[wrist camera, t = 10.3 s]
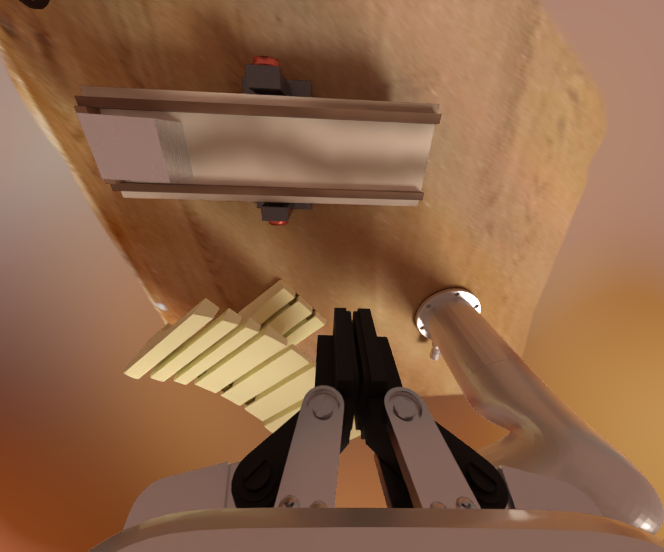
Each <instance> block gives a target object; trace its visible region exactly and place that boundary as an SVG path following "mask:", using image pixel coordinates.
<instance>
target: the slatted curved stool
mask: <svg viewBox="0 0 664 552" xmlns="http://www.w3.org/2000/svg"><path fill="white" fill-rule="evenodd" d="M295 294H296V292H295V291H294V290H293V289H292V288H291V287H290V286H289V285H288V284H287V283H285V282H284V281H283V280H282V279H280V280H279V281H278V282H277V283H275V284H274V285H273V286H271V287H270V288H269V289H268V290H266V291H265V292H264V293H263V294H261V295H260V296H259V297H257V298H256V299H255V300H254V301H252V302H251V303H250V304H249V305H247V306H246V307H245V308H243V309H242V310H241V311H240V312H238V313H235V312H234V311H233V310H231V309H230V308H229V309H227V310H226V311H225V312H224V313H222V314H221V315H220V316H218V317H217V318H216V319H215V320H213V321H212V322H211V323H209V324H208V325H207V326H205V327H204V328H203V329H201V328H202V327H203V326H204V325H206V324H207V323H208V322H209V321H211V320H212V319H213V318H214V316H215V315H216V313H217V312H218V310H219V307H218V306H216V305H215V304H214V303H212V302H211V301H209V300H208V299H207V298H204V299H203V300H202V301H201V302H200V303H199V304H197V305H196V306H195V307H194V308H193V309H192V310H190V311H189V312H188V313H187V314H186V315H184V316H183V317H182V318H181V319H180V320H178V321H177V322H176V323H175V324H173V325H170V324H169V323H168V324H166V325H165V326H164V327H163V328H162V329H161V330H160V331H159V332H157V333H156V334H155V335H154V336H153V337H152V338H151V339H150V340H149V341H148V342H147V343H146V345H145V346H144V347H143V348H142V349H141V350H140V351H139V353H138V354H137V355H136V356H135V357H134V358H133V359H132V361H131V362H130V363H129V364H128V366H127V367H126V368H125V369H124V371H123V373H124V374H126V375H128V376H130V377H132V378H135V379H139V378H140V377H141V376H143V375H144V374H145V373H146V372H148V371H149V370H150V369H151V368H152V367H154V366H155V365H156V364H157V365H156V366H155V368H154V369H153V371H152V373H151V375H150V377H151V378H152V379H155V380H159V381H163V382H164V381H165V380H167V379H168V378H169V377H170V376H172V375H173V374H175V373H176V374H175V377H174V381H175V382H178V383H181V384H184V385H186V384H188V383H189V382H190V381H192V380H193V379H194V378H195V385H197V386H200V387H202V388H205V389H207V390H209V391H212V392H214V393H217V392H218V391H220V390H221V396H223V397H224V398H227V399H228V400H230V401H232V402H234V403H235V404H237V405H239V406H240V405H241V404H243V403H244V409H245V410H247V411H248V412H250V413H251V414H253V415H254V416H256V417H257V418H258V419H260V420H262V421H263V423H264V427H265V428H267V429H268V430H269V431H271V432H272V433H274V432H275V431H276V430H277V429H278V428H280V427H281V426H282V425H283V424H284V423H285V422H287V421H288V420H289V419H290V418H291V417H292V416H293V415H295V414H296V413H297V412H298V411H299V410H300V409H301V405H302V402H303V399H304V397H305V395H306V394H307V392H308V391H309V390H311V389H312V388H314V387H315V373H316V362H315V361H313V362H311V363H310V357H309V356H308V355H306V354H305V353H304V352H302V351H301V350H300V349H299V348H297V347H296V346H295V345H296V344H298V343H299V342H300V341H302V340H303V339H305V338H306V337H307V336H309V335H310V334H312V333H313V332H315V331H316V330H318V329H319V328H321V327H322V326H324V325H325V323H326V322H328V321H327V320H326V319H325V318H324V317H323V316H322V315H320V314H319V313H318V312H317V311H316V310H315V311H314V312H313V311H312V308H313V307H312V306H311V305H309V304H308V303H307V302H306V301H305V300H304V299H303V298H302V297H301V296H300V295H299V296H297V297H296V296H295ZM287 303H288V304H287ZM286 304H287V305H286ZM283 306H284V307H283ZM279 309H280V310H279ZM275 312H276V313H275ZM200 329H201V330H200ZM198 330H200V331H199V332H197V331H198ZM196 332H197V333H196ZM195 333H196V334H195ZM193 334H194V335H193ZM192 335H193V336H192ZM307 364H308V365H307ZM360 435H361V431H360V430H356V428H355V418H354V420H353V427H352V430H351V432H350V439H349V440H351V439H353V438H355V437H357V436H360Z"/></svg>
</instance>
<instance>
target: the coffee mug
mask: <svg viewBox="0 0 664 552" xmlns="http://www.w3.org/2000/svg"><path fill="white" fill-rule="evenodd" d="M19 1H20V2H22V3H23V4H25V5H26V6H28V7H30V8H33V9H43V8H45V7H46V6H47V5H48V3H49V1H50V0H34V1H33V0H19Z"/></svg>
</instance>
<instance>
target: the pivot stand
mask: <svg viewBox="0 0 664 552" xmlns="http://www.w3.org/2000/svg"><path fill="white" fill-rule="evenodd" d="M252 59H253V65H250V64H245V70H246V77H242V83H243V92H244V94H255V95H275V96H294V97H311V81H299V80H286V78H285V76H284V74H283V72H282V70H281V69H280V67H279V61H278V60H277V59H275V58H272V57H267V56H255V57H253V58H252ZM257 208H261V212H262V221H269V224H271V225H285V224H287V223H288V220H289V218H290V216H291V213H292V211H293V209H312V203H288V202H257Z"/></svg>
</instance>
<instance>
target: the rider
mask: <svg viewBox="0 0 664 552" xmlns="http://www.w3.org/2000/svg"><path fill="white" fill-rule="evenodd" d="M77 116H78V119H79V121H80V124H81V126H82V129H83V131H84V134H85V136H86V139H87V141H88V144H89V147H90V149H91V152H92V154H93V157H94V159H95V162H96V164H97V167H98V169H99V172H100V175H101V177H102V179H112V180H129V181H146V182H162V183H172V182H176V181H180V180H184V179H187V178H191V177H193V172H192V167H191V162H190V158H189V153H188V148H187V144H186V139H185V134H184V129H183V125H182V123H181V122H174V121H167V120H160V119H153V118H140V117H127V116H113V115H100V114H87V113H77Z"/></svg>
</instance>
